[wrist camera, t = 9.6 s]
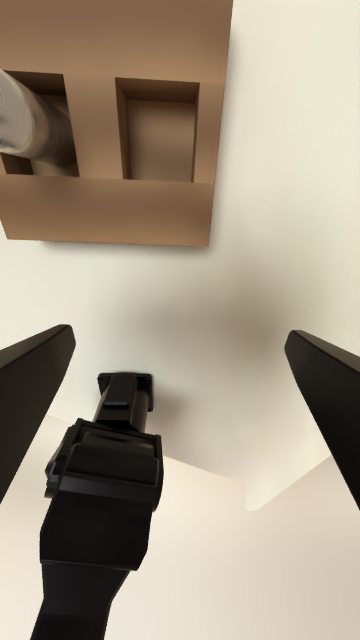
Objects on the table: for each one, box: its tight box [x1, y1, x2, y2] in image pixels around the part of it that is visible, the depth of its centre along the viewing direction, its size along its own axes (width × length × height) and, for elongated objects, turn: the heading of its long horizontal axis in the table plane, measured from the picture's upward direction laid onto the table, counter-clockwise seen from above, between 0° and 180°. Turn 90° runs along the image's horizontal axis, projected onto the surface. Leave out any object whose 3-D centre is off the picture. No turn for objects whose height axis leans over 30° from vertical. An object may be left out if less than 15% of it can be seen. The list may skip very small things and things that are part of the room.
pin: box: [0, 69, 77, 167], centre depth 11 cm, size 3×3×8 cm
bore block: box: [0, 0, 233, 247], centre depth 14 cm, size 12×14×4 cm
